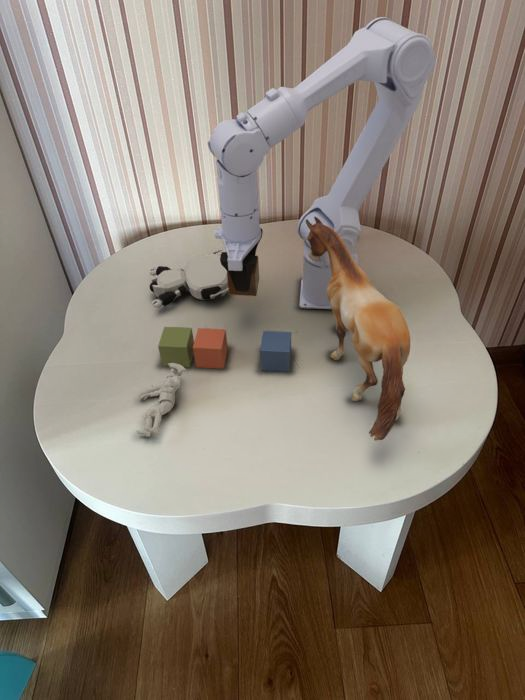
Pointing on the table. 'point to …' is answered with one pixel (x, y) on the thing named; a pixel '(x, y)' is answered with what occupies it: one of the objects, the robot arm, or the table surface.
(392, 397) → the horse figurine
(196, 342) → the terracotta block
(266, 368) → the blue block
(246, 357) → the table surface
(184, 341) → the olive block
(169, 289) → the robot toy
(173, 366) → the soldier figure
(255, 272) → the walnut block
